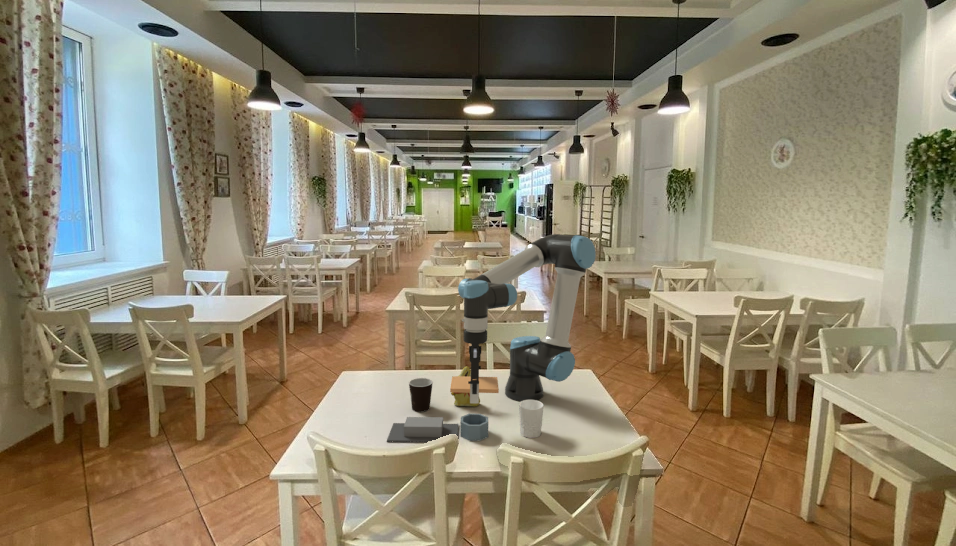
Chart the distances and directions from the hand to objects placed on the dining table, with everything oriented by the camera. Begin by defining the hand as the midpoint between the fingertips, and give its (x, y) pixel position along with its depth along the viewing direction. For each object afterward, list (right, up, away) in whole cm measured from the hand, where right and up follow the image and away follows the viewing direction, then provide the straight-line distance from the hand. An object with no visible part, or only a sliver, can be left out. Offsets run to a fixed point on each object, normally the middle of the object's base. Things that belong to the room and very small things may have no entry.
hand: (474, 395), depth 154 cm
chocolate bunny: (-4, -10, +24) cm, 26 cm away
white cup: (+18, -13, +3) cm, 23 cm away
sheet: (0, +3, 0) cm, 3 cm away
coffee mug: (-20, -10, +23) cm, 32 cm away
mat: (-17, -13, +2) cm, 21 cm away
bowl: (0, -13, +2) cm, 13 cm away
